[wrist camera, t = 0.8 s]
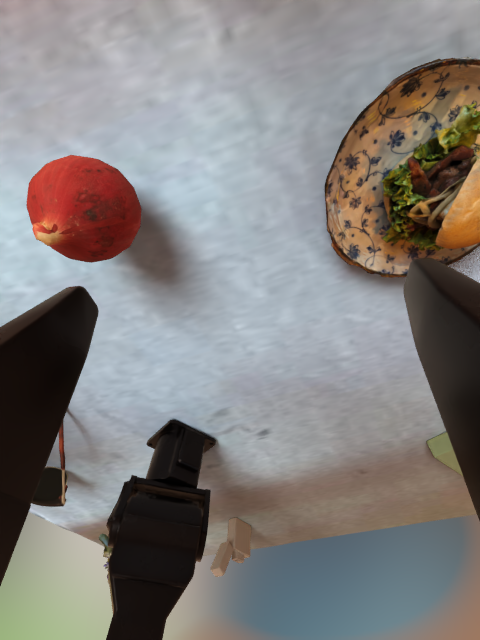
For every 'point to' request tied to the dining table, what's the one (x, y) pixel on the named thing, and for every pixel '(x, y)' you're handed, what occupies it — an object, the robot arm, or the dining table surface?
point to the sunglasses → (53, 481)
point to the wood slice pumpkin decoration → (410, 172)
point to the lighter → (233, 546)
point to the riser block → (444, 451)
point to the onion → (83, 208)
